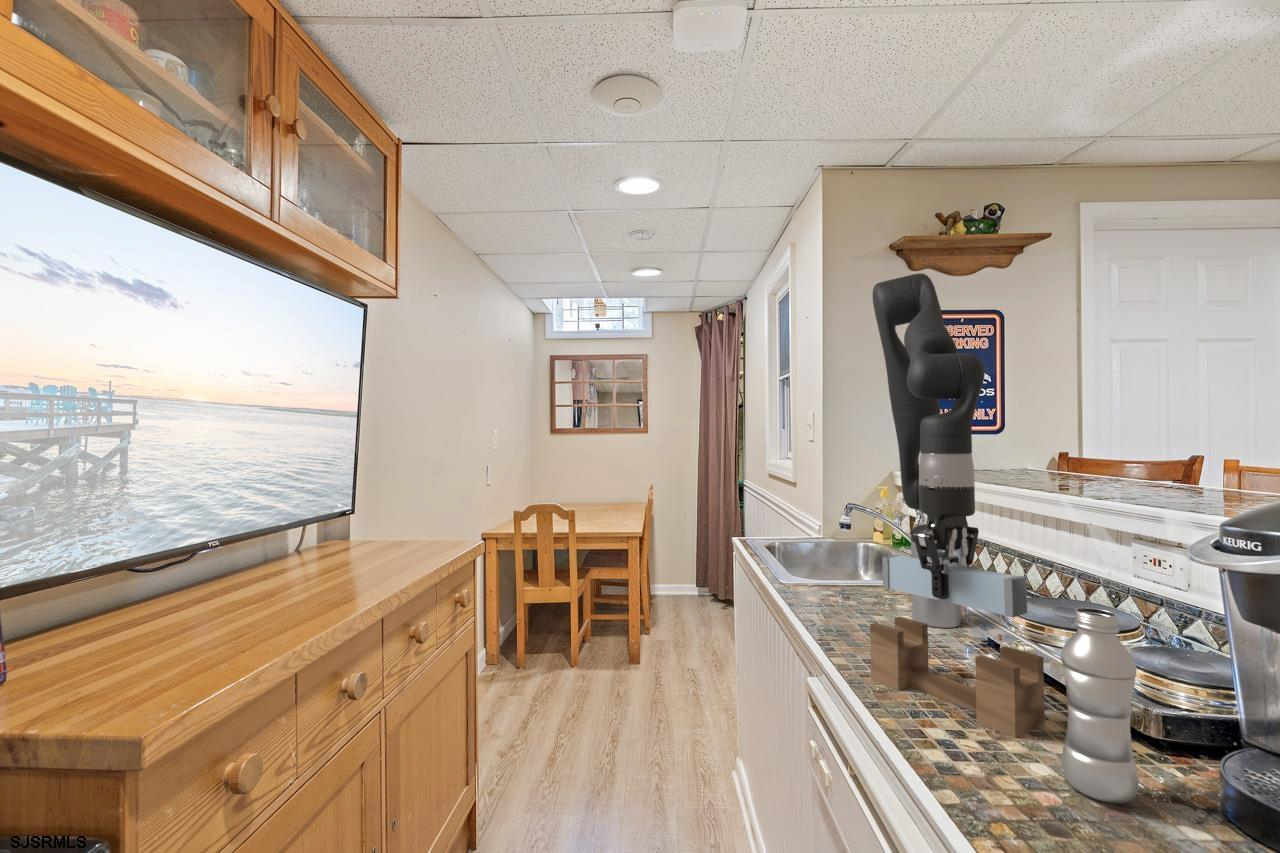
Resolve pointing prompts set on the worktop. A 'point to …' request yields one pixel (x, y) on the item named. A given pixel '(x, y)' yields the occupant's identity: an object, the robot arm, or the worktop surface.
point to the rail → (959, 585)
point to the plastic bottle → (1099, 709)
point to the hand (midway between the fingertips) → (948, 595)
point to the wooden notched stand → (1001, 692)
